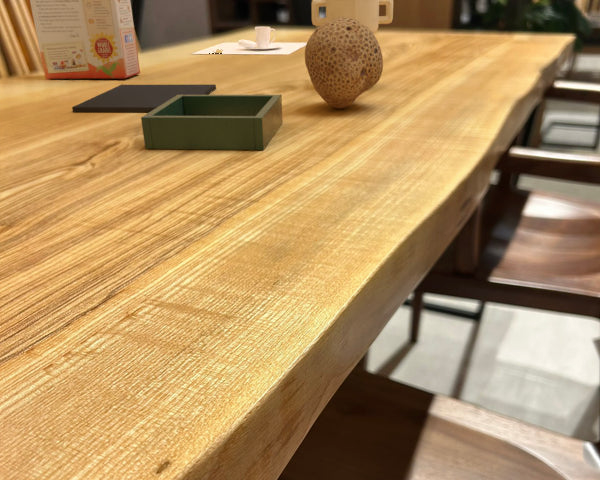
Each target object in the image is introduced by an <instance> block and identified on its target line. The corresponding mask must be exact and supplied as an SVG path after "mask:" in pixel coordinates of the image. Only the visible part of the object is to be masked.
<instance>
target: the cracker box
mask: <svg viewBox="0 0 600 480" xmlns="http://www.w3.org/2000/svg"><path fill="white" fill-rule="evenodd" d="M29 2H30V9H31V13H32V18H33V24H34V27H35V32H36V33H35V34H36V38H37V43H38V49H39V53H40V58H41V63H42V69H43V72H44V77H45V79H46V80H47V79H48V80H75V79H80V80H81V79H95V80H96V79H97V80H111V79H112V80H125V79H128V78H131V77H135V76H138V75H139V74H141V68H140V62H139V61H140V60H139V53H138V46H137V39H136V38H137V37H136V31H135V24H134V18H133V9H132V2H131V0H29Z"/></svg>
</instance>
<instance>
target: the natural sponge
mask: <svg viewBox="0 0 600 480" xmlns="http://www.w3.org/2000/svg"><path fill="white" fill-rule="evenodd" d="M306 43H307V44H306V46H305V47H304V64H305V67H306V69H307V72H308V76H309V78H310V82H311V85H312V87H313V88H314V90H315V91H316V93H317V94H318V95H319V97H320V98H321V99H322V100H323V101H324V102H325V103H326V104H327V105H329V106H331V107H332V108H334V109H338V110H342V109H346V108H347V107H349V106H351V105H352V104H353V103H354V102H355V101H356V99H357V98H359V96H361V95H362V94H364V93H365V92H367V91H369V90H370V89H372V88H373V87H374V86H375V85H376V84H377V83H378V82H379V81H380V79H381V76H382V73H383V71H384V58H383V52H382V49H381V46H380V44H379V42H378V39H377V38H376V36H375V34H373V33H372V31H371V30H369V29H368V28H367V27H366V26H364V25H363V24H362V23H360V22H359V21H357V20H355V19H352V18H348V17H338V18H336V19H334V20H332V21H330V22H326V23H324V24H322V25H320V26H317V28H316V29H315V30H314V31H313V32H312V34H311V35H310V37H309V38H308V40H307V42H306Z"/></svg>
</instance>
